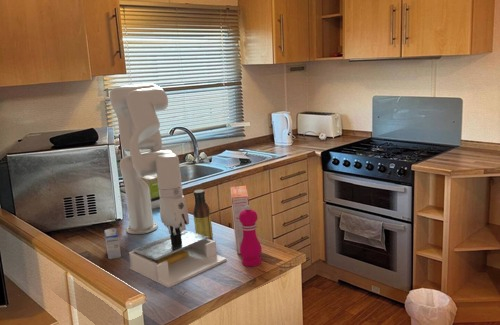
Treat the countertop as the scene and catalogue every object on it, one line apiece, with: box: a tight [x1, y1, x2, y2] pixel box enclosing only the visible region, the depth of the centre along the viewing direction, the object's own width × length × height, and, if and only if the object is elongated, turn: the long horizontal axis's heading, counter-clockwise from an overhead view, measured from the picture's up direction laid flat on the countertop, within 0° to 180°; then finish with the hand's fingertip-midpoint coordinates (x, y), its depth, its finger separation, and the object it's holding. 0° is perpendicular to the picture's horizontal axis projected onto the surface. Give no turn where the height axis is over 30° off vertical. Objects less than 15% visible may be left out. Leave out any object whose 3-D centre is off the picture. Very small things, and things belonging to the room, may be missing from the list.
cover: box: [132, 229, 209, 260], centre depth 161 cm, size 14×22×1 cm, turn 135°
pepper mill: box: [239, 204, 263, 267], centre depth 156 cm, size 7×7×20 cm
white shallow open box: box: [128, 239, 227, 288], centre depth 160 cm, size 22×24×6 cm
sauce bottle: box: [192, 189, 214, 241], centre depth 177 cm, size 7×6×20 cm
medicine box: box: [103, 227, 122, 260], centre depth 172 cm, size 8×4×9 cm, turn 21°
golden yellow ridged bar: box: [157, 250, 188, 265], centre depth 162 cm, size 4×11×2 cm, turn 135°
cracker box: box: [230, 185, 250, 255], centre depth 169 cm, size 14×6×21 cm, turn 4°
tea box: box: [141, 174, 160, 210], centre depth 230 cm, size 15×10×15 cm, turn 42°
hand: (176, 244), depth 158 cm, fingers closed
